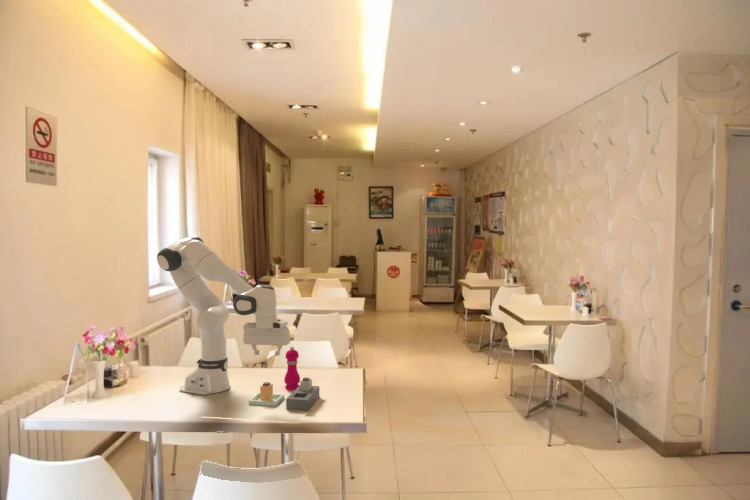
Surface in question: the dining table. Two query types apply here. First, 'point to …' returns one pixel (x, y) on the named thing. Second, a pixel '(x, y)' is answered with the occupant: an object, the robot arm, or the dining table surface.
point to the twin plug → (306, 384)
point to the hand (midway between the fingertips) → (267, 354)
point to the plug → (266, 392)
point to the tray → (256, 401)
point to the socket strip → (302, 399)
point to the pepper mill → (292, 370)
